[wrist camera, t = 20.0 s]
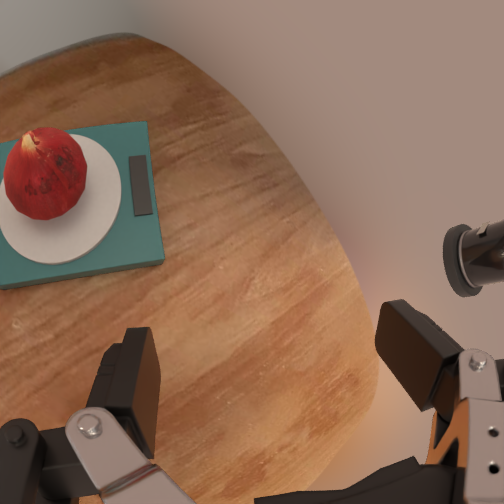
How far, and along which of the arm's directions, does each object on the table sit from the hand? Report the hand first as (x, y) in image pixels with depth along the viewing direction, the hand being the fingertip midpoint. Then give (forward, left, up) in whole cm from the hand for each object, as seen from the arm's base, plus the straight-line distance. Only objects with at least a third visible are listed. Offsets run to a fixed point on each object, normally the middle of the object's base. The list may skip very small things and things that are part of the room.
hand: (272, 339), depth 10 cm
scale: (+8, -11, -16) cm, 21 cm away
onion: (+9, -11, -13) cm, 19 cm away
